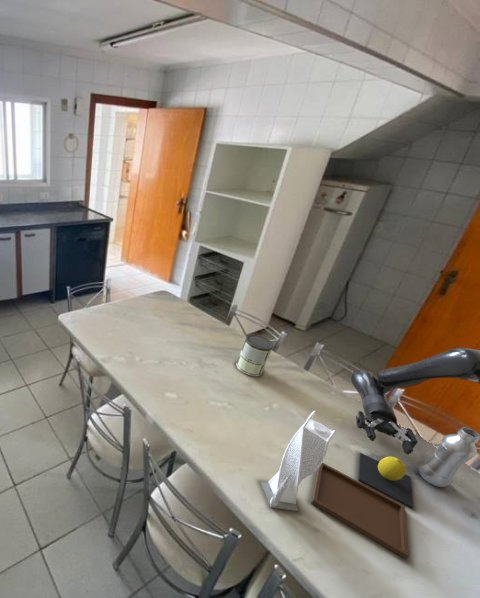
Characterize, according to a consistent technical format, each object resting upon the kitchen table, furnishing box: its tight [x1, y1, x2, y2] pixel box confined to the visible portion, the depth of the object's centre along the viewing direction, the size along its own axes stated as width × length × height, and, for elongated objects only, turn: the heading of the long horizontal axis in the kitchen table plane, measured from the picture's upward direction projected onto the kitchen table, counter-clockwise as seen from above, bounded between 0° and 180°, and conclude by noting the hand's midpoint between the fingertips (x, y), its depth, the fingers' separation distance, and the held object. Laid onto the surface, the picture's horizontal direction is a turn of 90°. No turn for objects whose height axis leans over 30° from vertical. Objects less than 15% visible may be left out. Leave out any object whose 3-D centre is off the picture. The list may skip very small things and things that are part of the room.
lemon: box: [378, 456, 407, 481], centre depth 95 cm, size 6×6×8 cm
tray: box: [311, 462, 410, 560], centre depth 88 cm, size 20×16×2 cm
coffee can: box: [235, 333, 274, 377], centre depth 136 cm, size 10×10×14 cm
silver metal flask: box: [417, 426, 480, 488], centre depth 93 cm, size 6×7×20 cm
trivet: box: [357, 452, 414, 509], centre depth 97 cm, size 12×12×1 cm
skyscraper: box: [260, 410, 337, 512], centre depth 84 cm, size 8×8×28 cm
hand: (390, 445), depth 98 cm, fingers open, 8 cm apart
